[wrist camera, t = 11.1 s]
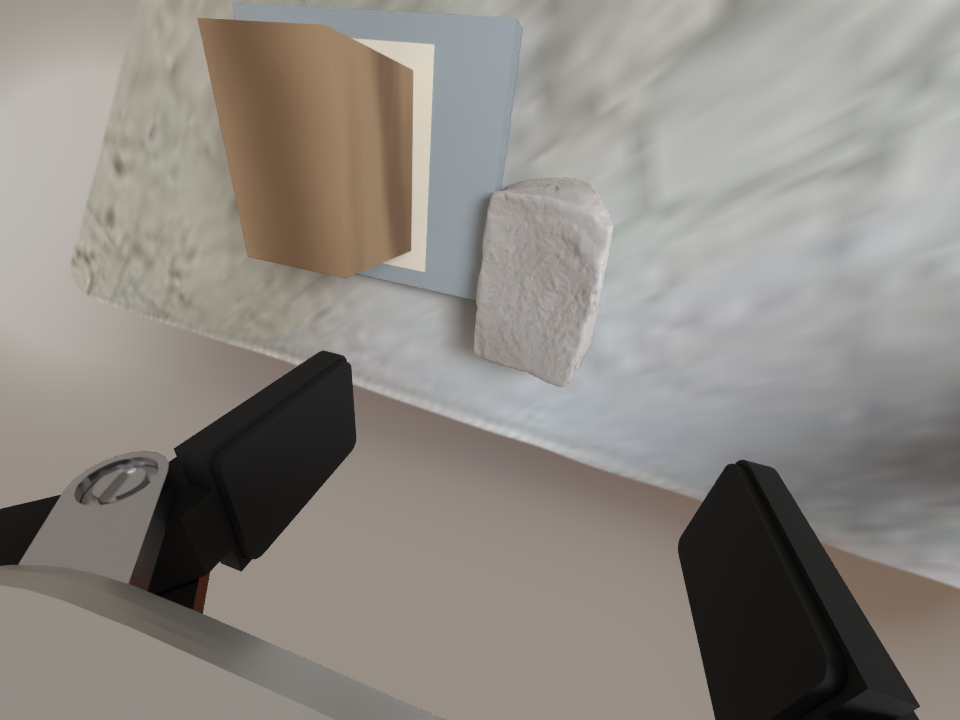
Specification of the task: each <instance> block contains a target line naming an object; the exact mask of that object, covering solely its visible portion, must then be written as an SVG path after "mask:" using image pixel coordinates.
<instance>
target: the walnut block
mask: <svg viewBox="0 0 960 720" xmlns="http://www.w3.org/2000/svg"><path fill="white" fill-rule="evenodd" d="M198 23H199V27H200V32H201V37H202V42H203V46H204V51H205V56H206V60H207V65H208V70H209V75H210V79H211V84H212V89H213V93H214V98H215V103H216V107H217V112H218V117H219V122H220V126H221V131H222V136H223V140H224V145H225V150H226V154H227V159H228V164H229V169H230V173H231V178H232V183H233V187H234V192H235V197H236V202H237V206H238V211H239V216H240V220H241V225H242V230H243V234H244V239H245V244H246V249H247V253H248V257H251V258H256V259H260V260H265V261H269V262H274V263H279V264H283V265H288V266H292V267H297V268H301V269H306V270H311V271H315V272H320V273H324V274H329V275H333V276H338V277H343V278H347V277H350V276H352V275H354V274H357V273H359V272H362V271H364V270H366V269H369V268H371V267H374V266H376V265H378V264H381V263H383V262H386V261H388V260H390V259H393V258H395V257H398V256H400V255H402V254H405V253H407V252H410V251H411V229H412V149H413V70H412V69H410V68H408V67H406V66H404V65H402V64H400V63H398V62H396V61H394V60H392V59H391V58H389V57H387V56H385V55H383V54H381V53H379V52H377V51H375V50H373V49H371V48H369V47H367V46H365V45H364V44H362V43H360V42H358V41H356V40H354V39H352V38H350V37H348V36H346V35H344V34H342V33H340V32H338V31H336V30H335V29H333V28H331V27H329V26H327V25H322V24H302V23H283V22H264V21H244V20H225V19H206V18H198Z"/></svg>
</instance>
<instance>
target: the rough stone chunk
mask: <svg viewBox="0 0 960 720" xmlns="http://www.w3.org/2000/svg"><path fill="white" fill-rule="evenodd" d="M612 232H613V225H612V222H611V220H610V216H609V214H608V212H607V210H606V207H605V205H604V203H603V201H602V199H601V197H600V195H599V194H598V193H597V192H596V190H595V189H594V188H593V186H592V185H591V184H589V183H586V182H583V181H580V180H577V179H573V178H550V179H536V180H528V181H523V182H519V183H517V184H514V185H511V186H509V187H507V189H506V190H498V191H494V192H493V193H492V195H491V198H490V202H489V206H488V210H487V217H486V224H485V230H484V234H483V242H482V254H483V259H482V266H481V270H480V273H479V276H478V286H477V295H476V306H477V311H476V314H475V315H476V323H475V330H474V346H473V352H474V355H475V356H478V357H480V358H483V359H487V360H489V361H491V362H495V363H498V364H499V365H503V366H507V367H511V368H515V369H518V370H521V371H526V372H528V373H530V374H532V375H533V376H535V377H538V378H540V379H541V380H543V381H545V382H547V383H551V384H553V385H556V386H559V387H562V386H565V385H566V384H567V383H568V382H570V380H571V379H572V377H573V375H574V373H575V371H576V370H577V369H578V368H579V366H580V361H581V359H582V357H583V356H584V354H585V353H586V352H587V350H588V349H589V346H590V344H591V341H592V338H593V333H594V329H595V324H596V320H597V316H598V312H599V306H600V305H599V303H600V294H601V290H602V287H603V283H604V274H605V270H606V267H607V261H608V257H609V249H610V243H611V236H612Z"/></svg>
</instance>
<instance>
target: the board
mask: <svg viewBox="0 0 960 720" xmlns="http://www.w3.org/2000/svg"><path fill="white" fill-rule="evenodd" d="M232 3H233V9H234V15H235V20H244V21H264V22H283V23H302V24H322V25H327V26H329V27H331V28H333V29H335V30H336V31H338V32H340V33H342V34H344V35H346V36H348V37H350V38H352V39H354V40H356V41H358V42H360V43H362V44H364V45H365V46H367V47H369V48H371V49H373V50H375V51H377V52H379V53H381V54H383V55H385V56H387V57H389V58H391V59H392V60H394V61H396V62H398V63H400V64H402V65H404V66H406V67H408V68H410V69H412V70H413V149H412V229H411V251H410V252H407V253H405V254H402V255H400V256H398V257H395V258H393V259H390V260H388V261H386V262H383V263H381V264H378V265H376V266H374V267H371V268H369V269H366V270H364V271H362V272H359V273H357V274H360V275H365V276H369V277H374V278H378V279H383V280H387V281H392V282H396V283H400V284H405V285H409V286H414V287H418V288H423V289H427V290H432V291H436V292H441V293H445V294H449V295H454V296H458V297H463V298H467V299H472V300H476V295H477V286H478V276H479V273H480V270H481V266H482V259H483V254H482V242H483V234H484V230H485V224H486V217H487V210H488V206H489V202H490V198H491V195H492V193H493V192H494V191H498V190H501V187H502V179H503V172H504V164H505V157H506V150H507V142H508V135H509V127H510V120H511V112H512V105H513V97H514V90H515V82H516V75H517V67H518V60H519V52H520V45H521V37H522V30H523V28H522V26H521V24H520V23H519V21H518V19H517V18H507V17H489V16H470V15H452V14H434V13H416V12H398V11H380V10H362V9H344V8H326V7H308V6H290V5H272V4H253V3H235V2H232Z"/></svg>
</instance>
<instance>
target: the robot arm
mask: <svg viewBox="0 0 960 720" xmlns="http://www.w3.org/2000/svg"><path fill="white" fill-rule="evenodd" d="M355 443H356V428H355V413H354V400H353V385H352V370H351V365H350V363H348V362H347V360H346V358H345V357H344V356H343V355H339V354H335V353H331V352H327V351H321V352H318V353H317V354H315V355H314V356H312V357H311V358H309V359H308V360H306V361H305V362H303V363H302V364H300V365H299V366H297V367H296V368H294V369H293V370H292V371H290V372H288V373H287V374H286V375H284V376H282V377H281V378H279V379H278V380H276V381H275V382H273V383H272V384H270V385H269V386H267V387H266V388H264V389H263V390H261V391H260V392H258V393H257V394H255V395H254V396H252V397H251V398H249V399H248V400H246V401H245V402H243V403H242V404H240V405H239V406H237V407H236V408H235V409H233V410H231V411H230V412H228V413H227V414H225V415H224V416H222V417H221V418H219V419H218V420H216V421H215V422H213V423H212V424H210V425H209V426H207V427H206V428H204V429H203V430H201V431H200V432H198V433H197V434H195V435H194V436H192V437H191V438H189V439H188V440H186V441H185V442H183V443H182V444H180V445H179V446H177V447H176V448H174V450H175V453H176V455H177V457H176V458H174V459H173V460H171V461H170V462H168V460H167V459H166V457H165V456H163V455H161V454H159V453H156V452H149V451H141V452H131V453H127V454H123V455H119V456H115V457H113V458H110V459H107V460H105V461H102V462H100V463H98V464H96V465H94V466H93V467H91V468H89V469H87V470H85V471H84V472H83V473H81V474H80V475H79V476H77V477H76V478H75V479H73V480H72V482H71V483H70V484H69V485H68V486H67V487H66V489H65V490H64V491H63V493H62V495H58V496H54V497H49V498H45V499H41V500H37V501H32V502H28V503H24V504H20V505H15V506H11V507H7V508H3V509H0V720H445V719H443V718H441V717H438V716H436V715H434V714H431V713H429V712H427V711H425V710H422V709H420V708H418V707H416V706H413V705H411V704H409V703H406V702H404V701H402V700H400V699H397V698H395V697H393V696H390V695H388V694H386V693H384V692H381V691H379V690H376V689H374V688H372V687H370V686H368V685H365V684H363V683H361V682H358V681H356V680H354V679H352V678H349V677H347V676H345V675H343V674H340V673H338V672H336V671H333V670H331V669H329V668H327V667H324V666H322V665H319V664H317V663H315V662H313V661H310V660H308V659H306V658H303V657H301V656H299V655H296V654H294V653H292V652H290V651H287V650H285V649H283V648H280V647H278V646H276V645H273V644H271V643H269V642H266V641H264V640H262V639H259V638H257V637H255V636H253V635H250V634H248V633H246V632H243V631H241V630H239V629H236V628H234V627H232V626H229V625H227V624H225V623H222V622H220V621H218V620H216V619H213V618H211V617H209V616H206V615H204V614H203V610H204V604H205V598H206V593H207V587H208V581H209V576H210V571H211V570H212V569H213V568H214V567H215V566H216V565H217V563H219V562H221V563H222V564H224V565H227V566H229V567H232V568H234V569H237V570H239V571H242V570H243V569H244V568H245V567H246V566H247V564H248V563H249V562H250V561H251V560H252V559H257V558H259V557H260V556H262V555H263V554H264V552H265V551H266V550H267V549H268V548H269V547H270V546H271V544H272V543H273V542H274V541H275V540H276V539H277V537H278V536H279V535H280V534H281V533H282V532H283V530H284V529H285V528H286V527H287V526H288V525H289V523H290V522H291V521H292V520H293V519H294V517H295V516H296V515H297V514H298V513H299V512H300V511H301V509H302V508H303V507H304V506H305V505H306V504H307V503H308V501H309V500H310V499H311V498H312V497H313V496H314V494H315V493H316V492H317V491H318V489H319V488H320V487H321V486H322V485H323V484H324V483H325V481H326V480H327V479H328V478H329V477H330V476H331V475H332V473H333V472H334V471H335V470H336V469H337V468H338V466H339V465H340V464H341V463H342V462H343V461H344V459H345V458H346V457H347V456H348V455H349V453H350V452H351V451H352V450H353V448H354V446H355ZM678 553H679V558H680V563H681V567H682V571H683V576H684V580H685V585H686V590H687V594H688V599H689V603H690V607H691V612H692V616H693V621H694V625H695V630H696V634H697V639H698V643H699V647H700V652H701V657H702V661H703V666H704V670H705V675H706V679H707V684H708V688H709V693H710V697H711V701H712V706H713V711H714V715H715V720H919V719H918V717H917V716H916V714H915V712H914V711H913V710H915V709H917V708H919V707H920V705H919V704H918V702H917V700H916V699H915V697H914V696H913V694H912V692H911V690H910V689H909V687H908V686H907V684H906V682H905V681H904V679H903V677H902V676H901V674H900V672H899V671H898V669H897V668H896V666H895V664H894V663H893V661H892V659H891V658H890V656H889V654H888V653H887V651H886V650H885V648H884V646H883V645H882V643H881V641H880V640H879V638H878V637H877V635H876V633H875V631H874V630H873V628H872V627H871V625H870V623H869V622H868V620H867V618H866V617H865V615H864V614H863V612H862V610H861V609H860V607H859V605H858V604H857V602H856V600H855V599H854V597H853V596H852V594H851V592H850V591H849V589H848V587H847V586H846V584H845V582H844V581H843V579H842V577H841V576H840V574H839V573H838V571H837V569H836V568H835V566H834V564H833V563H832V561H831V559H830V558H829V556H828V554H827V553H826V551H825V550H824V548H823V546H822V545H821V543H820V541H819V540H818V538H817V536H816V535H815V533H814V531H813V530H812V528H811V527H810V525H809V523H808V522H807V520H806V518H805V517H804V515H803V513H802V512H801V510H800V509H799V507H798V505H797V504H796V502H795V500H794V499H793V497H792V495H791V494H790V492H789V491H788V489H787V487H786V486H785V484H784V482H783V481H782V479H781V477H780V476H779V474H778V473H777V471H776V470H775V469H774V468H772V467H769V466H765V465H761V464H757V463H753V462H749V461H746V460H740V461H738V462H736V464H728V465H727V466H726V467H725V469H724V470H723V472H722V473H721V475H720V476H719V478H718V479H717V481H716V483H715V484H714V486H713V487H712V489H711V490H710V492H709V493H708V495H707V497H706V498H705V500H704V501H703V503H702V504H701V506H700V507H699V509H698V511H697V512H696V514H695V515H694V517H693V518H692V520H691V522H690V523H689V525H688V526H687V528H686V529H685V531H684V533H683V534H682V535H681V537H680V540H679V544H678Z"/></svg>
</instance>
